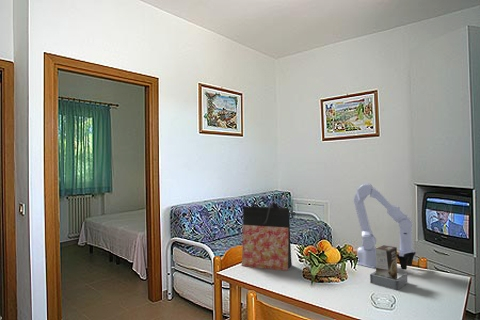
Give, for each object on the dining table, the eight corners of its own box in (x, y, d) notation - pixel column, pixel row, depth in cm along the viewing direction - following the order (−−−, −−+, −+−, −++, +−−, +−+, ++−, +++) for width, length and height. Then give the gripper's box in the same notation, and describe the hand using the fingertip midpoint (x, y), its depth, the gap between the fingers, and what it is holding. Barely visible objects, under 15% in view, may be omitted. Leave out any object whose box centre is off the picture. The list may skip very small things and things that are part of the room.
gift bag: (239, 267, 167) (238, 202, 167) (248, 259, 180) (247, 199, 181) (293, 273, 156) (292, 204, 157) (298, 264, 170) (297, 201, 170)
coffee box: (390, 287, 137) (389, 251, 137) (375, 283, 142) (374, 248, 142) (398, 281, 143) (397, 247, 143) (384, 278, 148) (383, 244, 148)
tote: (370, 283, 142) (370, 274, 142) (380, 276, 151) (380, 267, 151) (397, 290, 134) (397, 281, 134) (407, 282, 142) (407, 274, 142)
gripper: (409, 244, 151) (410, 272, 150) (419, 239, 161) (419, 265, 160) (394, 242, 156) (394, 269, 155) (404, 237, 166) (405, 262, 166)
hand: (406, 267), depth 158 cm, fingers open, 7 cm apart
